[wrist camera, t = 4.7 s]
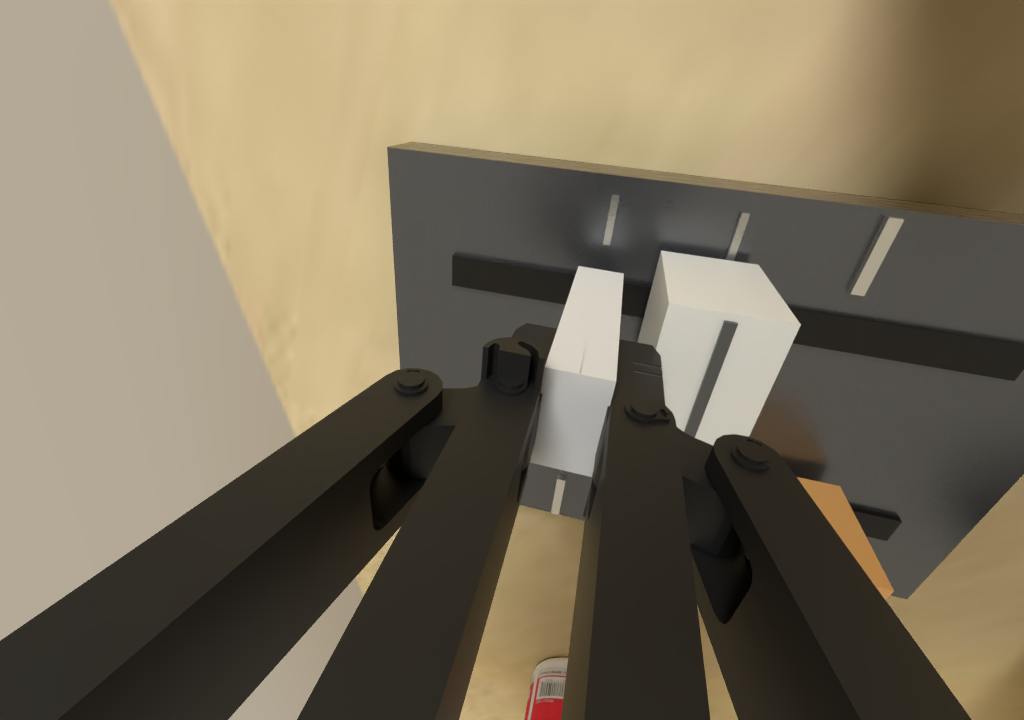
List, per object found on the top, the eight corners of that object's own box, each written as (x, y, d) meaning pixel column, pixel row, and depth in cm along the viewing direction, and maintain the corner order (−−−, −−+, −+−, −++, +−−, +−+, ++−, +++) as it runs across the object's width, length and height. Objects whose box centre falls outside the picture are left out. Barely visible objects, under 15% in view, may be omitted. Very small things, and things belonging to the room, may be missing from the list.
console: (411, 141, 17) (383, 147, 16) (1158, 231, 14) (1242, 253, 12) (421, 451, 26) (404, 480, 24) (886, 560, 22) (909, 604, 20)
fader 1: (660, 250, 15) (668, 304, 11) (758, 264, 14) (801, 326, 10) (633, 355, 17) (633, 431, 13) (718, 371, 16) (742, 454, 13)
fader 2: (758, 468, 18) (790, 568, 14) (840, 486, 18) (895, 594, 14) (725, 533, 20) (745, 636, 16) (797, 551, 20) (836, 660, 16)
